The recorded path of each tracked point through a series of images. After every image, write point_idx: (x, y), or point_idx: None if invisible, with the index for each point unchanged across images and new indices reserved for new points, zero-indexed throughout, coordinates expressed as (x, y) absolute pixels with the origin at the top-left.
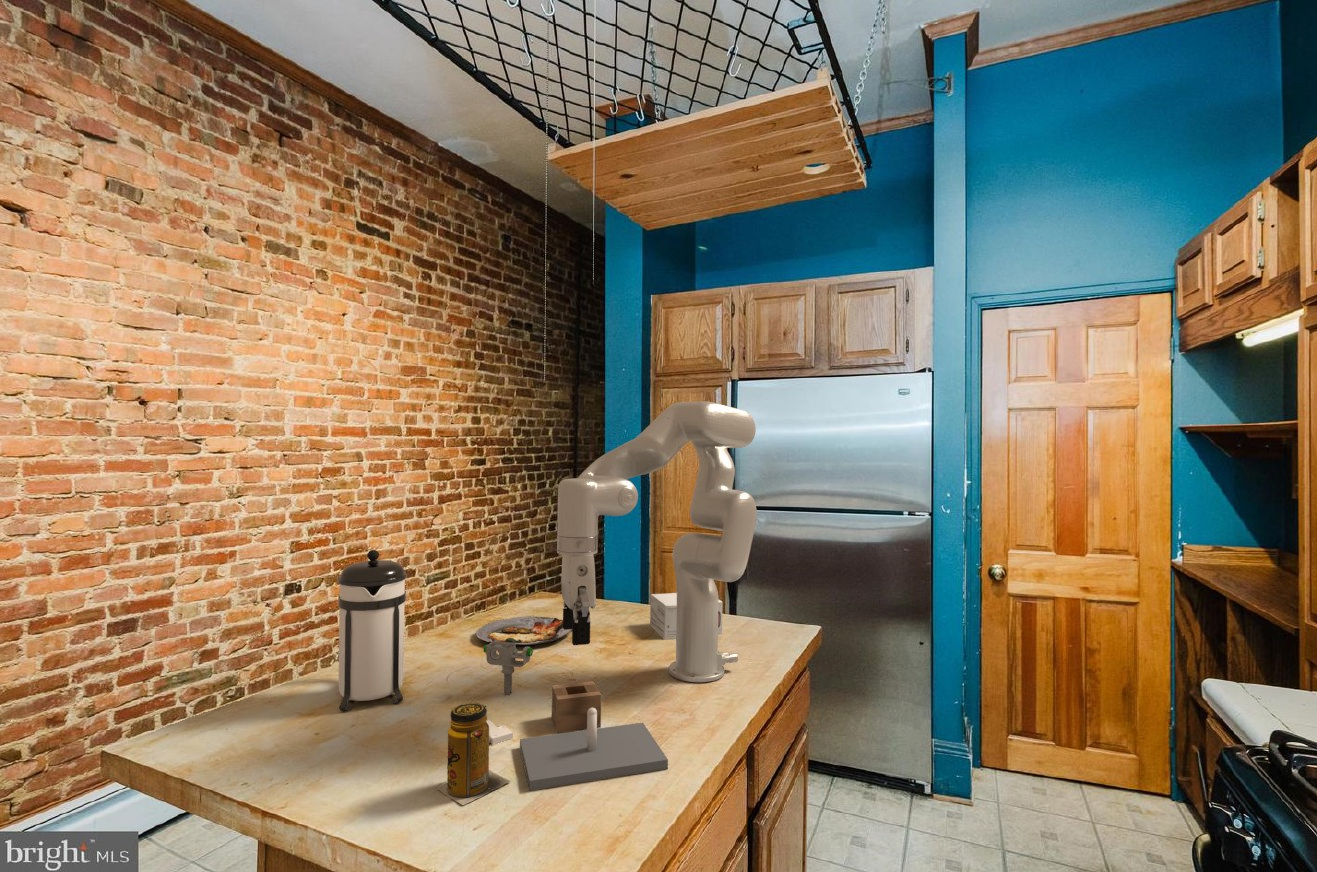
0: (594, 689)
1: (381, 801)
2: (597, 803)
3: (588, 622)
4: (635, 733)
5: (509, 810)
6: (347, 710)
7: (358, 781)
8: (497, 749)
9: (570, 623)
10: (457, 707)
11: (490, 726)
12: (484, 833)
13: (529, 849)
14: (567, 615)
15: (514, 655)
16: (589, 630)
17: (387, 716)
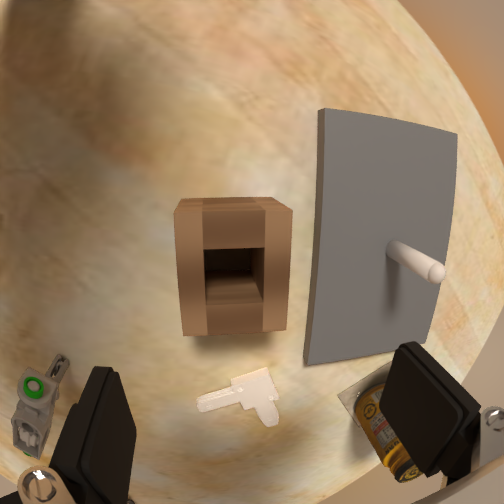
0: (245, 221)
1: (355, 454)
2: (471, 258)
3: (491, 412)
4: (368, 144)
5: (435, 353)
6: (130, 500)
7: (307, 477)
8: (294, 384)
9: (124, 430)
10: (405, 480)
11: (224, 402)
12: (450, 368)
13: (484, 328)
14: (123, 481)
15: (40, 408)
16: (450, 379)
17: (147, 481)
